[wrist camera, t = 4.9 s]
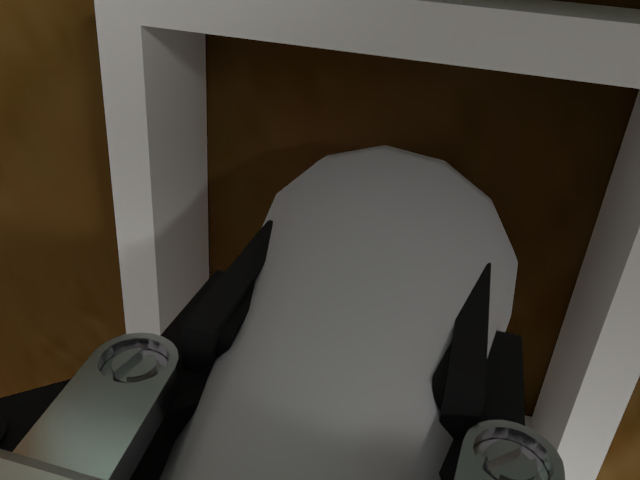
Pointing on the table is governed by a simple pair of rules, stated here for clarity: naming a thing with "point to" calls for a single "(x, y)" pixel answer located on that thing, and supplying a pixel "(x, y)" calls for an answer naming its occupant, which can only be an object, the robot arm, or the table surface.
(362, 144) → the table surface
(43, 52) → the table surface
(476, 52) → the grey square frame
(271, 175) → the table surface
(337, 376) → the salt shaker
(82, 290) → the table surface
